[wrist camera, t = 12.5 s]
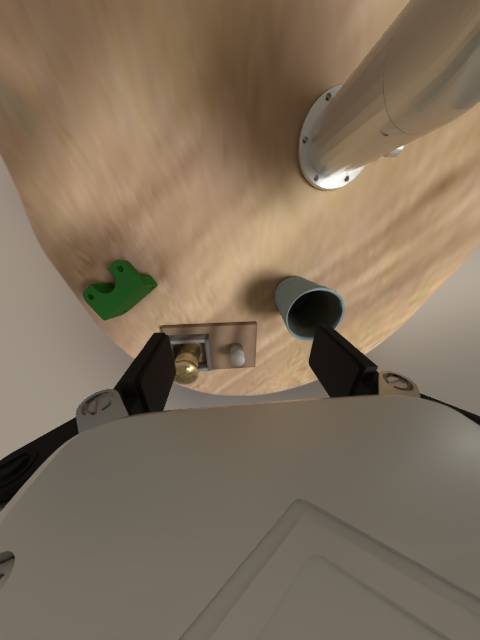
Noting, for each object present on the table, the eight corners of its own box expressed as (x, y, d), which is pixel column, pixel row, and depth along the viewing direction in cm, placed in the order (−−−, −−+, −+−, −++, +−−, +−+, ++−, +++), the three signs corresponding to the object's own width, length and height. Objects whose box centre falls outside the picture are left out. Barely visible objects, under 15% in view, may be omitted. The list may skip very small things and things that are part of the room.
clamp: (143, 266, 39) (129, 251, 30) (161, 288, 40) (152, 279, 31) (94, 298, 36) (62, 291, 28) (114, 320, 37) (90, 321, 29)
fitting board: (255, 321, 42) (261, 335, 37) (254, 363, 48) (258, 380, 42) (163, 325, 41) (153, 340, 35) (173, 368, 46) (166, 387, 41)
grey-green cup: (319, 297, 41) (353, 320, 30) (283, 322, 43) (303, 351, 32) (299, 263, 37) (330, 274, 26) (261, 291, 39) (275, 313, 28)
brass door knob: (200, 339, 41) (196, 362, 34) (203, 358, 44) (199, 383, 37) (176, 341, 41) (166, 364, 34) (180, 360, 44) (172, 385, 37)
